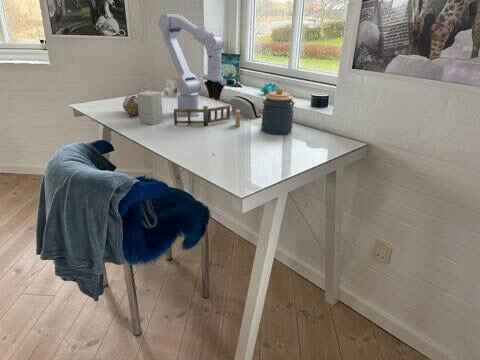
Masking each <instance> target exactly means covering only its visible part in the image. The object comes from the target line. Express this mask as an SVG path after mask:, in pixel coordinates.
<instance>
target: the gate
mask: <svg viewBox="0 0 480 360" xmlns="http://www.w3.org/2000/svg"><path fill="white" fill-rule="evenodd" d="M224 110H226V116H225V117H224ZM218 111H220V118H218ZM212 112H214V118H213V119H212ZM230 112H231V105H224V106H223V105H222V106H216V107H211V108H210V107H209V108H208V124H213V123H217V122H218V123H219V122H222V121H228V120H231V119H230V117H231V115H230V114H231V113H230Z"/></svg>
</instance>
